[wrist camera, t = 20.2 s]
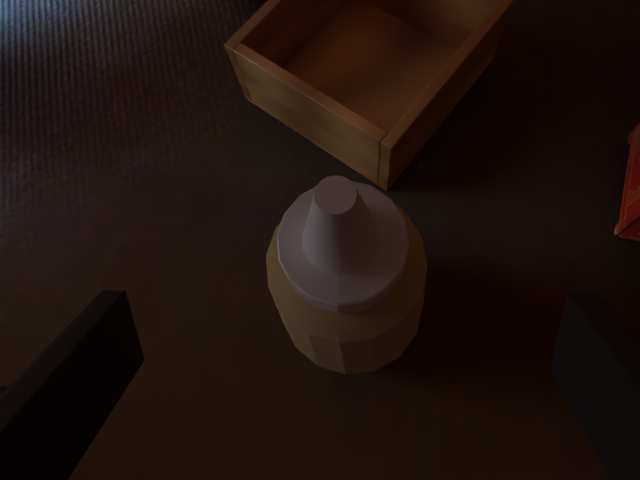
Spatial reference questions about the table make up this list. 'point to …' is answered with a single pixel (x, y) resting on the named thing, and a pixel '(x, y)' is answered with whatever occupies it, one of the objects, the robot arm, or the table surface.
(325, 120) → the open wooden box
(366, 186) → the squeeze bottle
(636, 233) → the medicine box
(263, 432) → the table surface
